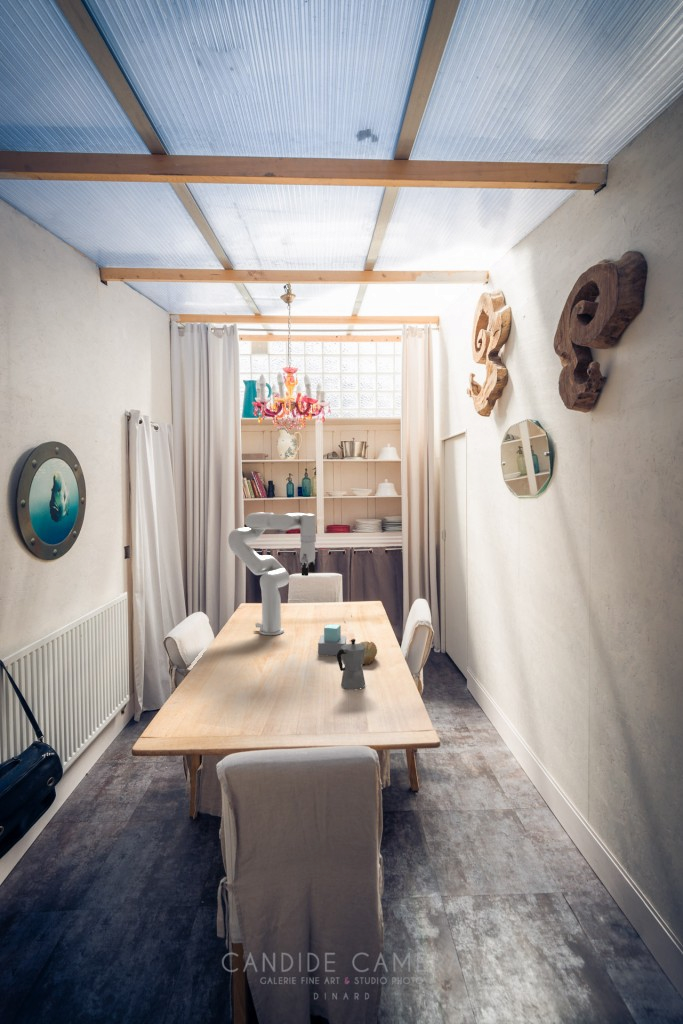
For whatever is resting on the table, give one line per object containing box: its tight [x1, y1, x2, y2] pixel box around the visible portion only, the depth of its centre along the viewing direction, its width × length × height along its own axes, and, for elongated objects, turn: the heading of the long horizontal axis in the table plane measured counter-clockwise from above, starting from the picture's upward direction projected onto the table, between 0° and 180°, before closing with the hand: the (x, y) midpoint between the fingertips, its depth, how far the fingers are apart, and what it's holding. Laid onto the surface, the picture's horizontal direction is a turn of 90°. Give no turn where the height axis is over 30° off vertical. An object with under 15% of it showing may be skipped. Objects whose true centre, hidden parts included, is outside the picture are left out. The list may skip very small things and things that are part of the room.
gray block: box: [317, 634, 347, 657], centre depth 243 cm, size 12×12×6 cm
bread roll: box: [360, 640, 378, 665], centre depth 232 cm, size 10×15×8 cm, turn 175°
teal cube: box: [323, 623, 342, 642], centre depth 243 cm, size 6×6×6 cm
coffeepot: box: [336, 638, 366, 691], centre depth 202 cm, size 15×9×18 cm, turn 137°
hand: (308, 573), depth 262 cm, fingers open, 9 cm apart
